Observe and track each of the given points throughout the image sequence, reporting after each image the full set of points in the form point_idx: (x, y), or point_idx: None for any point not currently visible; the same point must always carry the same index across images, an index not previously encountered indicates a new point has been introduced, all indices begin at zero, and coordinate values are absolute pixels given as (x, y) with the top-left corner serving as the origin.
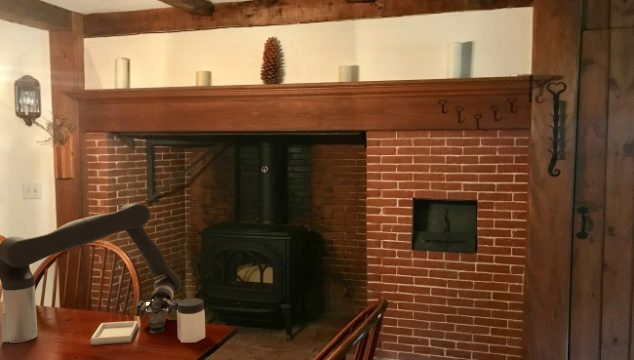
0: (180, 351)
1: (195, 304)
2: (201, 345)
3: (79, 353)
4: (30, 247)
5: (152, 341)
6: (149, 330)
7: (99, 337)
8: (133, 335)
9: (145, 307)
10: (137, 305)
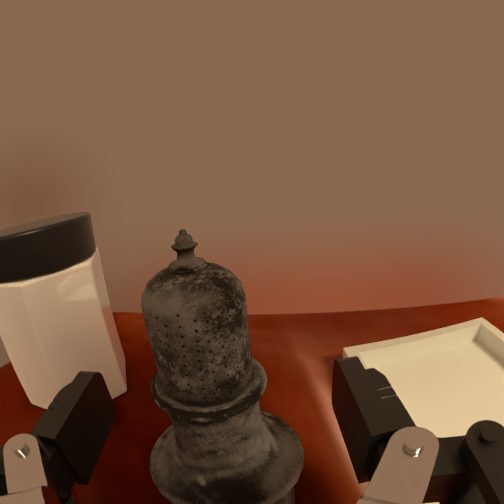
0: (144, 322)
1: (38, 220)
2: None
3: (452, 306)
4: None
5: None
6: (291, 490)
7: (462, 326)
8: None
9: (364, 431)
10: (491, 427)
